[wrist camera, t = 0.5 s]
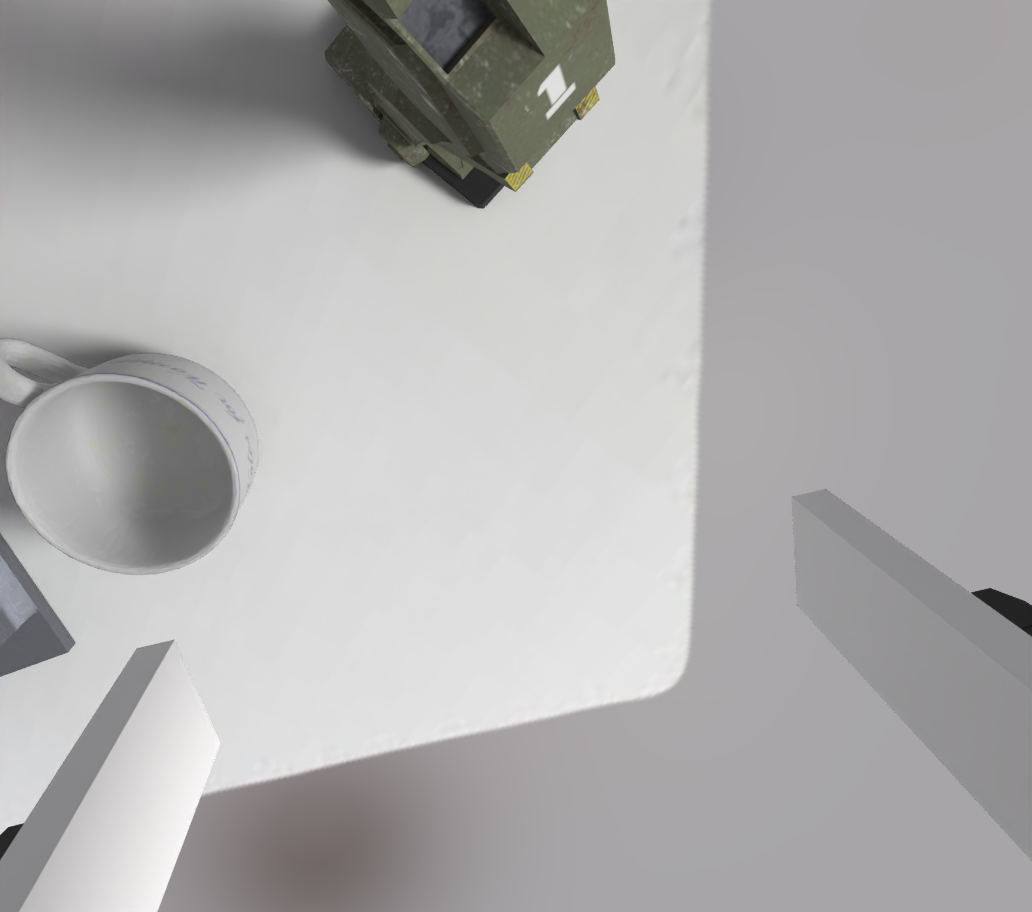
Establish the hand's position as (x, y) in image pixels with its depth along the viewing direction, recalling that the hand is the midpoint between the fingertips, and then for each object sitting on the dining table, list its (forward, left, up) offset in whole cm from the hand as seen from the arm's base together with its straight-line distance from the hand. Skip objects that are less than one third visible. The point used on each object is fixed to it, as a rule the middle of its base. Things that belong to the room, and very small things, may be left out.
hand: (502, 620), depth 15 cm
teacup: (-3, -17, -29) cm, 34 cm away
